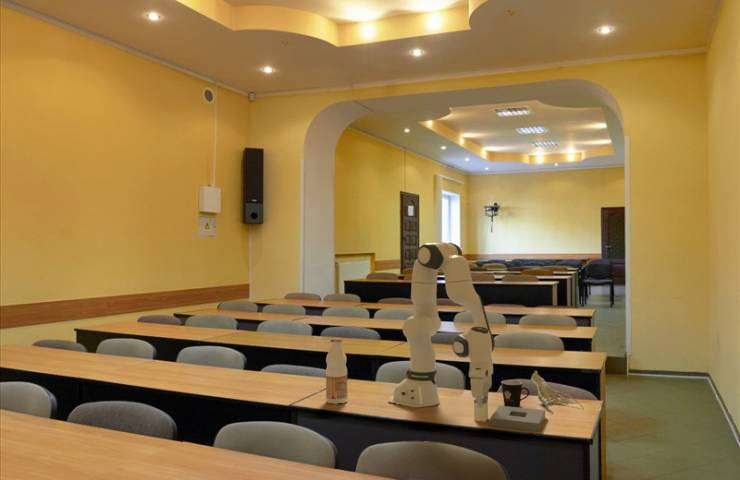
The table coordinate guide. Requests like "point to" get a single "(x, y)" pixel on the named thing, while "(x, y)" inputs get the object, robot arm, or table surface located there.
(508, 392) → the coffee mug
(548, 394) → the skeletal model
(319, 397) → the table surface
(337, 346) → the fruit juice
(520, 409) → the socket
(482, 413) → the toothpick box
